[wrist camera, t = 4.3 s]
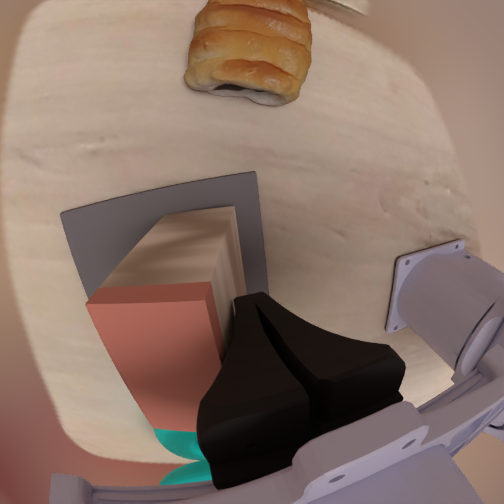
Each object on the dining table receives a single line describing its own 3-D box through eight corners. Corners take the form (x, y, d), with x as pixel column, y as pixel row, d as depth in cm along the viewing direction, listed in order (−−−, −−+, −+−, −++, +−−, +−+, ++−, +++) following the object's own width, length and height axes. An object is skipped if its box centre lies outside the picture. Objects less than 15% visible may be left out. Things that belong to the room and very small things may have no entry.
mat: (254, 171, 17) (256, 172, 16) (269, 311, 21) (270, 315, 21) (61, 212, 15) (59, 214, 14) (110, 342, 19) (109, 345, 19)
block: (234, 206, 16) (204, 300, 8) (249, 311, 19) (240, 433, 11) (165, 214, 16) (85, 304, 8) (189, 314, 19) (153, 428, 11)
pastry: (208, -31, 11) (216, -63, 8) (310, -10, 13) (337, -32, 9) (181, 96, 14) (181, 85, 11) (294, 112, 16) (322, 108, 13)
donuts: (186, 525, 17) (135, 498, 13) (176, 447, 26) (136, 395, 22) (292, 505, 18) (283, 474, 14) (264, 427, 27) (247, 371, 23)
